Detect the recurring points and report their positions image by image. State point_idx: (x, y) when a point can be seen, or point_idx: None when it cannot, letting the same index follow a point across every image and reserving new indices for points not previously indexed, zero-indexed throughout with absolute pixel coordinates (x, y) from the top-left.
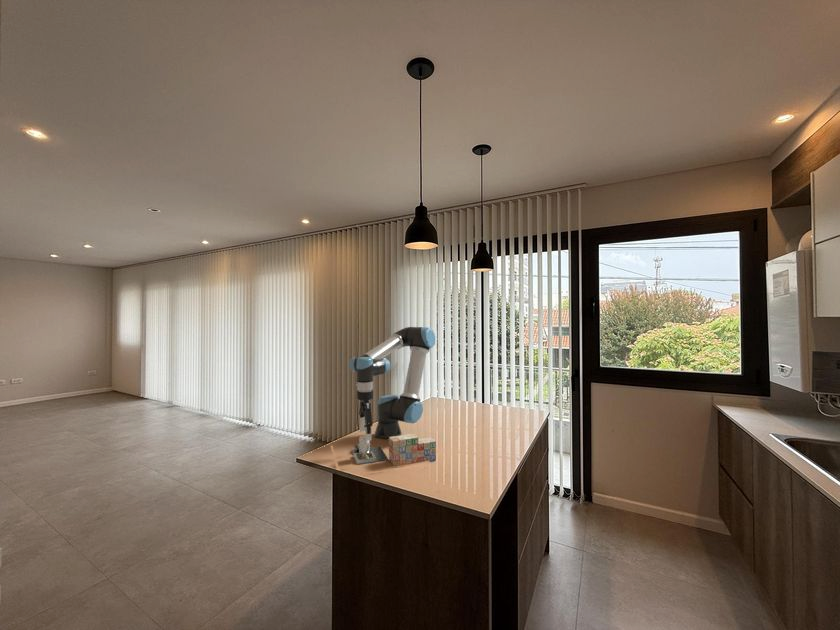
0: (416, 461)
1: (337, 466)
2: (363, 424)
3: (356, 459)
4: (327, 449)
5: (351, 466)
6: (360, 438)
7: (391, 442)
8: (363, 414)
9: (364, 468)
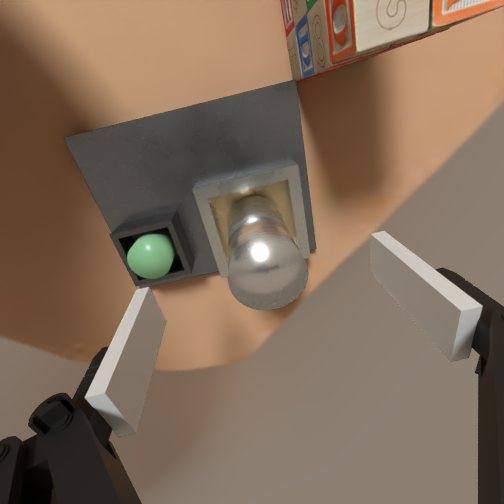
0: None
1: (288, 310)
2: (143, 343)
3: None
4: None
5: None
6: (287, 301)
7: (422, 33)
8: (112, 460)
9: (331, 212)
